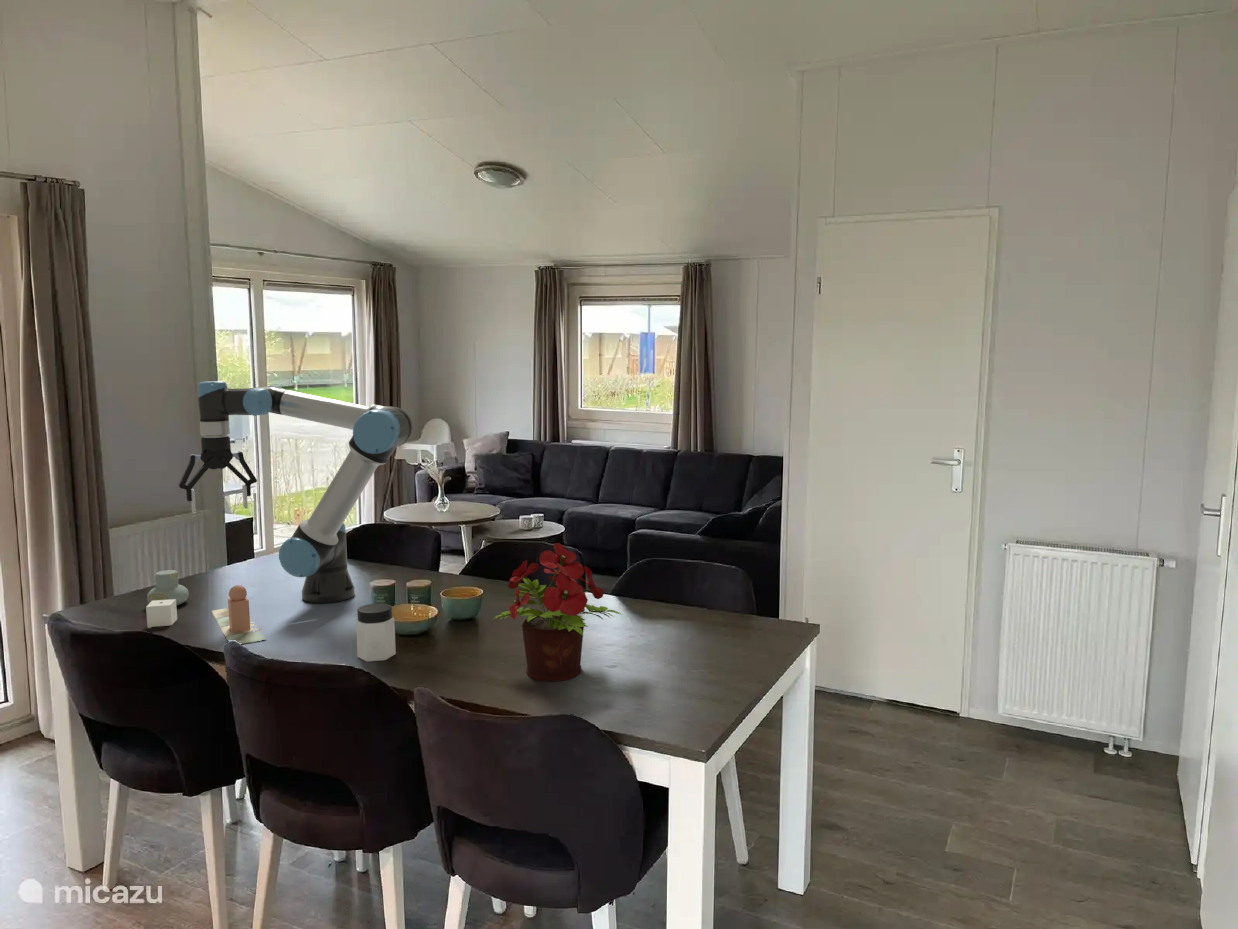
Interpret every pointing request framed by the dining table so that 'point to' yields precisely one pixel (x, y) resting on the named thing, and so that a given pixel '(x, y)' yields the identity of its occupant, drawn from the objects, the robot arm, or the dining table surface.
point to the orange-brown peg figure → (238, 609)
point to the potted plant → (554, 615)
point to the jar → (375, 632)
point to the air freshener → (168, 588)
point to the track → (239, 636)
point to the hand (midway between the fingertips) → (220, 510)
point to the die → (161, 613)
